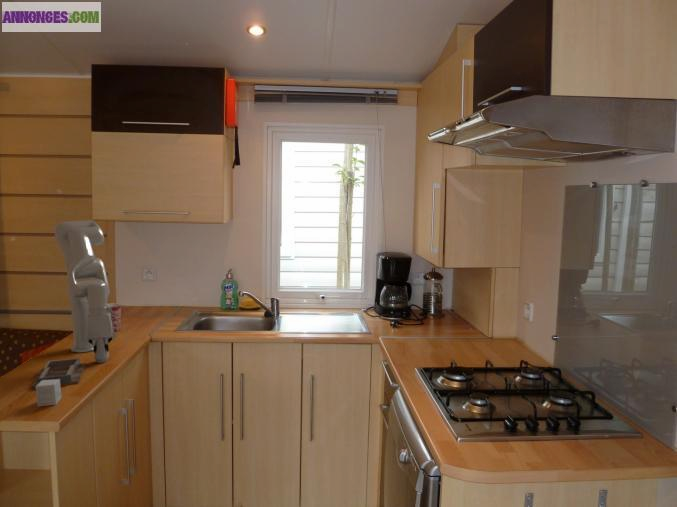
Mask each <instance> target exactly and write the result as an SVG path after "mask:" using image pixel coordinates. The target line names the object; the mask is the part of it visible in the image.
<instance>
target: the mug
mask: <svg viewBox="0 0 677 507" xmlns="http://www.w3.org/2000/svg"><path fill="white" fill-rule="evenodd" d="M121 306H122V303H119V302H118V303H116V302H115V303H113V302H112V303H108V307H109V308H112V311H109V312H108V313H110V314H111V318H112V324H113V330H114V332H115V333H116V332H119V331H121V327H122V326H121V323H122V322H121V319H122V318H121V317H122V316H121V313H122V312H121V311H122V310H121Z"/></svg>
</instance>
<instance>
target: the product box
mask: <svg viewBox="0 0 677 507" xmlns="http://www.w3.org/2000/svg"><path fill="white" fill-rule="evenodd" d="M61 386H62V385H60V379H55V380H42V381H41V382H40V383H39V384H38V385H37V386H36V388H35V395H36V405H37V407H44V406H46V407H48V406H56V405H57V404H59V402H60V400H62V389H61V388H62V387H61Z"/></svg>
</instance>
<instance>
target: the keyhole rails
mask: <svg viewBox="0 0 677 507" xmlns="http://www.w3.org/2000/svg"><path fill="white" fill-rule="evenodd" d="M81 363H82V362H81V357H74V358H65V359H56V360H48V361H47V362H46V364H45V365H44V366H43V368H44V371H43V372H42V374H41V376H40V377H39V383H40V382H41V381H42V380H55V379H60V383H62V382H71V380H72V378H73V376H74V374H75V371H77V370H78V368H79V366H80V364H81ZM69 365H71V366H70V368H69V370H68V372H67V374H66V375H60V376H51V377H49V375H50V368H51V367H60V366H69Z"/></svg>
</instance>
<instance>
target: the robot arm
mask: <svg viewBox="0 0 677 507" xmlns="http://www.w3.org/2000/svg"><path fill="white" fill-rule="evenodd" d="M104 236H105V235H104V232H103V230H102V228H101V227H100V225H99V224H97V223H96V222H95V221H94V220H90V219H89V220H71V221H61V222H58V223H57V224H55V226H54V237H55V240H56V242H57V244H58V247H59V248H60V250H61V251H62V254H63V259H64V262H65V263H64V264H65V267H66V268H65V269H66V273H67V276H66V281H67V285H68V287H67V296H68V299H69V304H70V309H71V320H72V323H71V324H72V332H73V334H72V336H73V345H72V346H71V347H70V351H71V352H72V353H88V352H93V353H94V354H95V353H96V351H97V346H96V340H97V338H98V337H99V336H101V337H102V338H104V339H105V345H104V346H105V350H106V349H107V350H106V354H107V351H108V352H109V351H110V350H109V349H110V348H109V344H110V343H111V341H112V340H114V339H116V338H118V335H117V334H116V332H114V330H113V324H112V318H111V314H110V313H108V312H109V311H112V308H109V307H108V304H109V303H108V297H109V296H110V293H111V291H110V285H109V280H108V276H107V275H108V274H107V271H106V267H105V264H104V261H103V260H102V259H101V258H99V257H96V256H95V253H94V249H93V246H100V245H102V244H104V240H105V237H104Z"/></svg>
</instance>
